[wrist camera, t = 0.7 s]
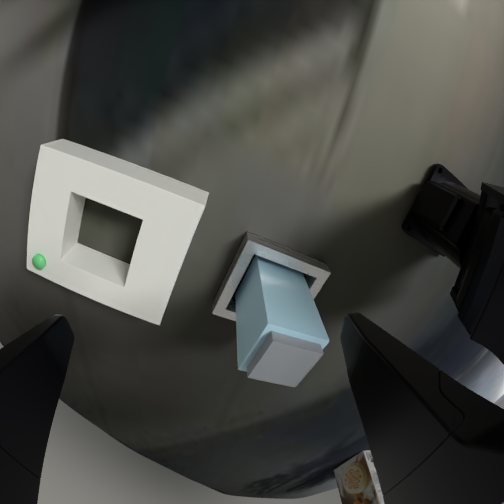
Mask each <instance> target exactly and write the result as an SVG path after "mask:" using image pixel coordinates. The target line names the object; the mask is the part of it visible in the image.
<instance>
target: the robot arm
mask: <svg viewBox="0 0 504 504" xmlns="http://www.w3.org/2000/svg"><path fill="white" fill-rule="evenodd" d="M438 169H440V170H439V172H438ZM481 190H482V192H481V196H480V195H478V194H476V193H474V192H472V191H470V190H468V189H467V188H466V187H465V186H464V185H463V184H462V183H461V182H460V181H459V180H458V179H457V178H456V177H455V176H454V175H453V174H452V173H450V172H449V171H448V170H447V169H446V168H445V167H444V166H443V165H441V164H435V165H434V167H433V169H432V171H431V173H430V175H429V177H428V179H427V181H426V183H425V184H424V186H423V188H422V190H421V192H420V194H419V196H418V198H417V199H416V201H415V203H414V205H413V207H412V208H411V210H410V212H409V214H408V216H407V217H406V219H405V221H404V222H403V225H402V230H403V231H404V232H406V233H407V234H409V235H410V236H412V237H414V238H415V239H417V240H418V241H420V242H422V243H423V244H425V245H426V246H428V247H429V248H431V249H432V250H434V251H436V252H437V253H439V254H440V255H442V256H446V257H447V258H449V259H450V260H451V261H452V262H453V263H454V264H456V265H457V266H458V267H459V268H460V271H459V274H458V277H457V280H456V282H455V285H454V287H452V290H451V292H450V295H451V297H452V299H453V301H454V303H455V305H456V308H457V310H458V312H459V313H458V317H459V320H460V321H461V322H462V324H463V325H464V326H465V328H466V330H467V331H468V332H469V334H470V335H471V336H470V338H471V340H473V341H475V342H477V343H479V344H481V345H483V346H484V347H486V348H487V349H488V350H490V351H491V352H492V353H493V354H494V355H495V356H497V357H498V359H499V360H500V361H501V362H502V363H503V364H504V188H503V187H499V186H495V185H492V184H488V183H484V182H482V185H481ZM408 225H409V228H407V226H408ZM73 342H74V334H73V332H72V329H71V327H70V325H69V322H68V320H67V318H66V317H65V316H64V315H57V314H56V315H53V316H51V317H50V318H48V319H46V320H45V321H43V322H42V323H40V324H38V325H37V326H35V327H34V328H32V329H31V330H29V331H27V332H26V333H24V334H23V335H21V336H20V337H18V338H17V339H15V340H13V341H12V342H10V343H9V344H7V345H6V346H4V347H3V348H1V349H0V504H37V500H38V493H39V485H40V478H41V473H42V467H43V461H44V456H45V452H46V447H47V442H48V438H49V434H50V429H51V425H52V421H53V417H54V414H55V410H56V407H57V403H58V400H59V396H60V393H61V390H62V386H63V383H64V380H65V376H66V372H67V367H68V363H69V358H70V354H71V350H72V346H73ZM341 343H342V348H343V353H344V357H345V362H346V367H347V372H348V377H349V382H350V385H351V389H352V392H353V395H354V398H355V401H356V404H357V407H358V411H359V414H360V417H361V420H362V424H363V427H364V430H365V434H366V437H367V440H368V444H369V447H370V451H371V454H372V458H373V461H374V465H375V469H376V472H377V476H378V480H379V484H380V487H381V491H382V495H383V500H384V504H504V409H502V408H500V407H499V406H497V405H495V404H493V403H492V402H490V401H488V400H487V399H485V398H483V397H481V396H480V395H478V394H476V393H474V392H473V391H471V390H470V389H468V388H466V387H465V386H463V385H461V384H460V383H458V382H457V381H456V380H454V379H453V378H451V377H450V376H448V375H447V374H445V373H444V372H443V371H441V370H440V371H439V369H438V368H437V367H436V366H434V365H433V364H431V363H430V362H428V361H427V360H426V359H424V358H423V357H421V356H420V355H419V354H417V353H416V352H414V351H413V350H412V349H410V348H409V347H407V346H406V345H404V344H403V343H402V342H400V341H399V340H397V339H396V338H395V337H393V336H392V335H390V334H389V333H387V332H386V331H385V330H383V329H382V328H380V327H379V326H377V325H376V324H375V323H373V322H372V321H370V320H369V319H367V318H366V317H365V316H363V315H362V314H360V313H348V314H346V316H345V318H344V323H343V327H342V331H341Z"/></svg>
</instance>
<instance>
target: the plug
mask: <svg viewBox="0 0 504 504" xmlns="http://www.w3.org/2000/svg"><path fill="white" fill-rule="evenodd" d="M235 303H236V333H237V360H238V370H241V371H245V372H247V377H248V378H252V379H257V380H261V381H266V382H271V383H275V384H280V385H285V386H290V387H296V386H297V385H298V384H299V382H300V381H301V380H302V379H303V378H304V377H305V375H306V374H307V373H308V372H309V371H310V370H311V368H312V367H313V366H314V365H315V364H316V363H317V361H318V360H319V359H320V358H321V357H322V355H323V354H324V353H323V349H324V347H325V346H326V345H327V344H328V342H329V338H328V335H327V333H326V330H325V328H324V325H323V323H322V320H321V317H320V315H319V312H318V310H317V307H316V305H315V302H314V300H313V297H312V295H311V292H310V290H309V287H308V285H307V282H306V280H305V278H304V275H303V273H302V272H300V271H297V270H295V269H292V268H289V267H287V266H284V265H282V264H279V263H276V262H274V261H271V260H269V259H266V258H263V257H261V256H258V255H256V256H255V258H254V260H253V261H252V263H251V265H250V267H249V269H248V271H247V273H246V275H245V277H244V279H243V281H242V283H241V285H240V287H239V288H238V290H237V292H236V294H235Z"/></svg>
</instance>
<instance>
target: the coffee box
mask: <svg viewBox="0 0 504 504" xmlns="http://www.w3.org/2000/svg"><path fill="white" fill-rule="evenodd" d="M334 473H335V477H336V481H337V485H338V488H339V493H340V497H341V501H342V504H384V500H383V495H382V491H381V487H380V484H379V480H378V476H377V472H376V469H375V465H374V461H373V458H372V454H371V451H370V450H365V451H361V452H360V453H359V454H357V455H356V456H354V457H353V458H351V459H350V460H348V461H347V462H345V463H344V464H342V465H341V466H339V467H337V468H336V469H334Z"/></svg>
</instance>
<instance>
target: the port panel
mask: <svg viewBox="0 0 504 504" xmlns="http://www.w3.org/2000/svg"><path fill="white" fill-rule="evenodd" d="M208 195H209V192H206V191H204V190H201V189H199V188H196V187H194V186H191V185H189V184H186V183H183V182H181V181H178V180H176V179H173V178H170V177H168V176H165V175H163V174H160V173H157V172H155V171H152V170H149V169H147V168H144V167H141V166H139V165H136V164H133V163H130V162H128V161H125V160H122V159H119V158H117V157H114V156H111V155H108V154H105V153H103V152H100V151H97V150H94V149H91V148H88V147H85V146H83V145H80V144H77V143H74V142H71V141H68V140H65V139H60V140H56V141H53V142H49V143H45V144H42V145H41V147H40V152H39V156H38V161H37V167H36V172H35V178H34V184H33V191H32V198H31V207H30V216H29V227H28V242H27V269H28V270H30V271H32V272H34V273H36V274H38V275H40V276H42V277H44V278H46V279H48V280H51V281H53V282H55V283H57V284H59V285H61V286H63V287H65V288H68V289H70V290H72V291H74V292H77V293H79V294H81V295H83V296H86V297H88V298H90V299H93V300H95V301H97V302H100V303H102V304H105V305H107V306H109V307H112V308H114V309H117V310H119V311H122V312H125V313H127V314H130V315H132V316H135V317H138V318H140V319H143V320H146V321H148V322H151V323H154V324H157V325H160V323H161V320H162V317H163V314H164V311H165V309H166V306H167V303H168V300H169V297H170V295H171V292H172V289H173V287H174V284H175V281H176V278H177V276H178V273H179V271H180V268H181V265H182V263H183V260H184V258H185V255H186V252H187V250H188V247H189V245H190V242H191V240H192V237H193V235H194V232H195V230H196V227H197V225H198V222H199V220H200V218H201V215H202V213H203V210H204V208H205V206H206V202H207V198H208ZM86 198H89V199H91V200H94V201H96V202H99V203H101V204H104V205H107V206H109V207H112V208H114V209H117V210H119V211H122V212H124V213H127V214H130V215H132V216H135V217H137V218H140V219H142V220H143V222H142V225H141V228H140V232H139V235H138V238H137V242H136V245H135V249H134V252H133V256H132V260H131V263H130V264H128V263H126V262H123V261H121V260H118V259H116V258H113V257H111V256H108V255H106V254H103V253H101V252H98V251H96V250H94V249H91V248H89V247H87V246H84V245H82V244H79V243H77V241H78V235H79V229H80V224H81V219H82V214H83V209H84V204H85V199H86Z"/></svg>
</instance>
